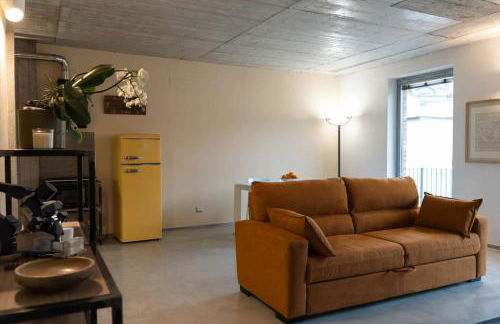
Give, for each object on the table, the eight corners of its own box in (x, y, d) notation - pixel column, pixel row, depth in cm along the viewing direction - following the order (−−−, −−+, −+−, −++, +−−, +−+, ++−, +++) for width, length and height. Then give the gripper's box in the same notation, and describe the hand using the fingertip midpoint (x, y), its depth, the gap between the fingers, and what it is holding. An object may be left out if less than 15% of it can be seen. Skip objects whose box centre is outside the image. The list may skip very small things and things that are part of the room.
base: (23, 255, 167) (23, 239, 167) (45, 249, 179) (44, 234, 179) (67, 258, 162) (67, 242, 162) (86, 251, 174) (86, 236, 174)
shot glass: (56, 245, 186) (56, 230, 186) (59, 242, 193) (58, 227, 193) (72, 244, 188) (72, 229, 188) (74, 241, 195) (74, 226, 194)
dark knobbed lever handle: (33, 248, 171) (33, 221, 171) (39, 246, 174) (38, 219, 174) (64, 249, 168) (63, 222, 167) (69, 248, 171) (68, 221, 170)
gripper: (31, 197, 162) (56, 226, 159) (64, 193, 180) (86, 218, 177) (16, 216, 164) (39, 245, 161) (49, 210, 182) (71, 236, 179)
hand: (60, 235), depth 170 cm, fingers closed on dark knobbed lever handle, 3 cm apart
